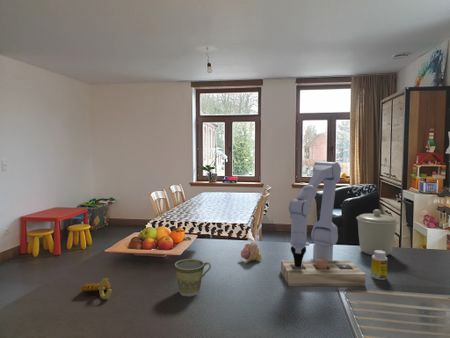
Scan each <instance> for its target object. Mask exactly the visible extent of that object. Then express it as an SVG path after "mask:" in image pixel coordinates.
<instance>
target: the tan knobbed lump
mask: <svg viewBox="0 0 450 338" xmlns="http://www.w3.org/2000/svg"><path fill="white" fill-rule="evenodd" d="M240 256H241V258H242V259H244V260H246V261H245V265H247V264H248V263H249V262H252V261H255V262H258V261H261V260H262V259H263V257H262V253H260V249H259V247H258V244H257V242H256V241H254V240H253V241H251V243H250V244H249V243H246V244H244V247H243V250H241V251H240Z"/></svg>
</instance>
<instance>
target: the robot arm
mask: <svg viewBox="0 0 450 338" xmlns="http://www.w3.org/2000/svg"><path fill="white" fill-rule="evenodd" d="M341 173H342V168H341V165H340V163H339V162H338V161H318V160H316V162H314V165H313V166H312V175H311V177H310V180H309V182H308V184H306V185H304V186H303V187H302V188H301V190H300V192H299V193H298V195H297V196H296V198H294V199H291V201H289V204H288V205H289V206H288V212H289V217H290V219H291V225H290V226H291V227H290V232H291V233H290V242H289V243H290V245H291V246H290V252H291V254H292V255H293V261H294V263H295V267H301V264H302V261H303V259H304V256H305V254H306V252H307V247H309V246H310V242H309V241H307V239H308V237H307V234H308V233H307V232H308V215H309V214H310V212H311V209H312V206H313V205H312V203H313V201H314V200H315V197H316V196H317V193H318V192H317V189H318V188H319V187H320V185H321V184H323V189H322V196H321V206H320V215H319V220H318V221H316V222H315V223H314V224H313V227H312V230H311V234H310V237H311V239H312V241H313V243H314V244H313V249H312V250H313V251H312V258H310V261H316V259H325V260H327V261H334V259H333V255H334V252H333V251H334V246H335V245H336V244H337V242H338V239H339V234H338V226H337V225H336V224H334V222H333V213H334V207H335V206H334V204H335V196H336V188H337V187H336V186H337V183H339V182H341V181H340V180H341Z"/></svg>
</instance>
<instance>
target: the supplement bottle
mask: <svg viewBox="0 0 450 338" xmlns="http://www.w3.org/2000/svg"><path fill="white" fill-rule="evenodd" d="M370 267H371V268H370V275H371V278H373V279H376V280H379V281H380V280H382V281H383V280H386V279H387V276H388V275H387V274H388V257H387V256H386V252H384V251H381V250H375V251H374V255H371V266H370Z"/></svg>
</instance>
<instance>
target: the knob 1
mask: <svg viewBox="0 0 450 338" xmlns="http://www.w3.org/2000/svg"><path fill="white" fill-rule="evenodd" d="M292 269H304V266H303V265H301V267H295V264H293V265H292Z"/></svg>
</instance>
